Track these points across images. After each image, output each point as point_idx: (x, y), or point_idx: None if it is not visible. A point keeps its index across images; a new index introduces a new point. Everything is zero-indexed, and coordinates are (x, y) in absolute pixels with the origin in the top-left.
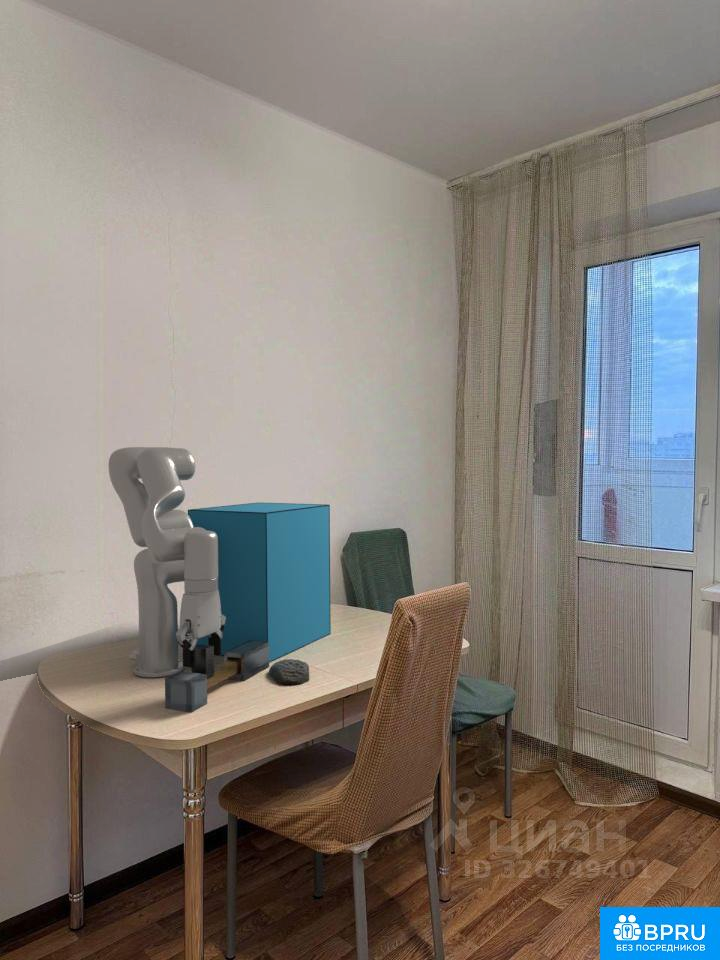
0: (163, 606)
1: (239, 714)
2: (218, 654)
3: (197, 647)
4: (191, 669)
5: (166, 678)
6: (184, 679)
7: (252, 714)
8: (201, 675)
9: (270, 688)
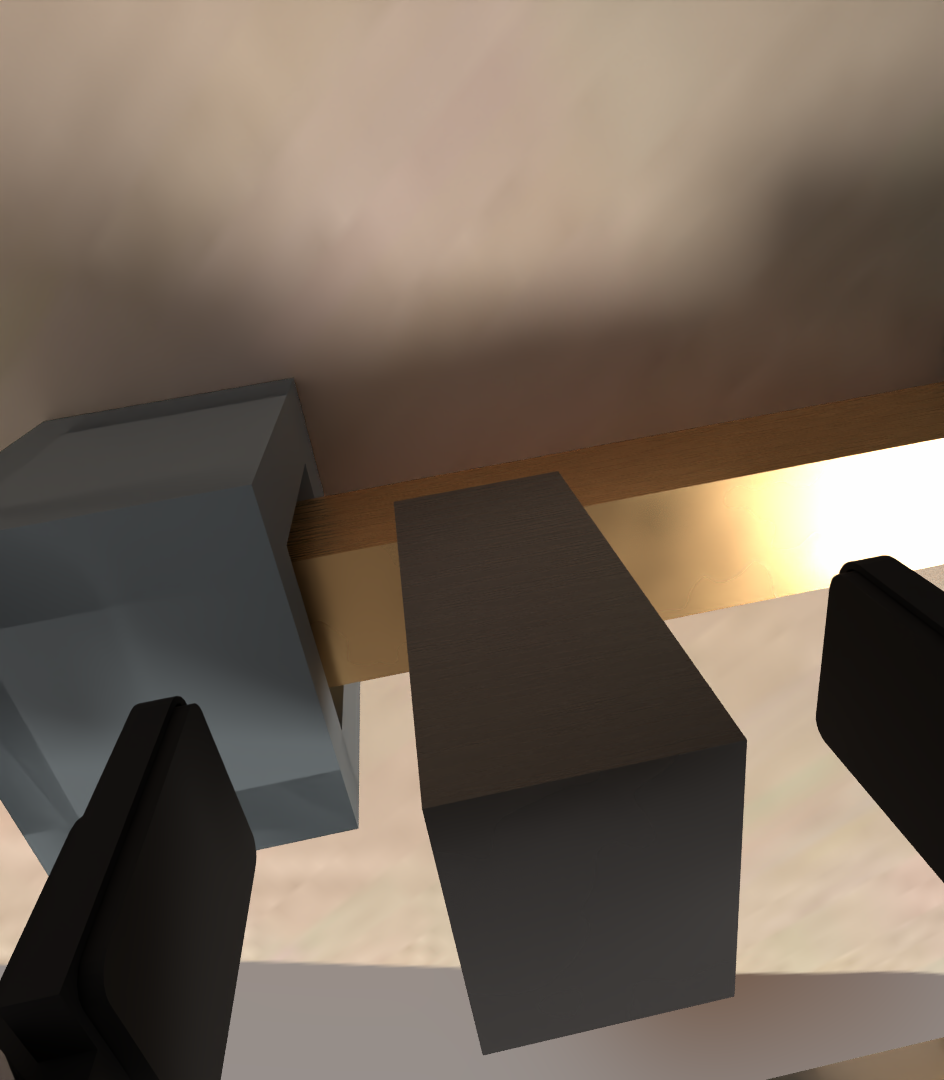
0: None
1: (347, 896)
2: (828, 731)
3: (490, 903)
4: (398, 553)
5: None
6: (50, 785)
7: (392, 937)
8: (296, 812)
9: (823, 747)
